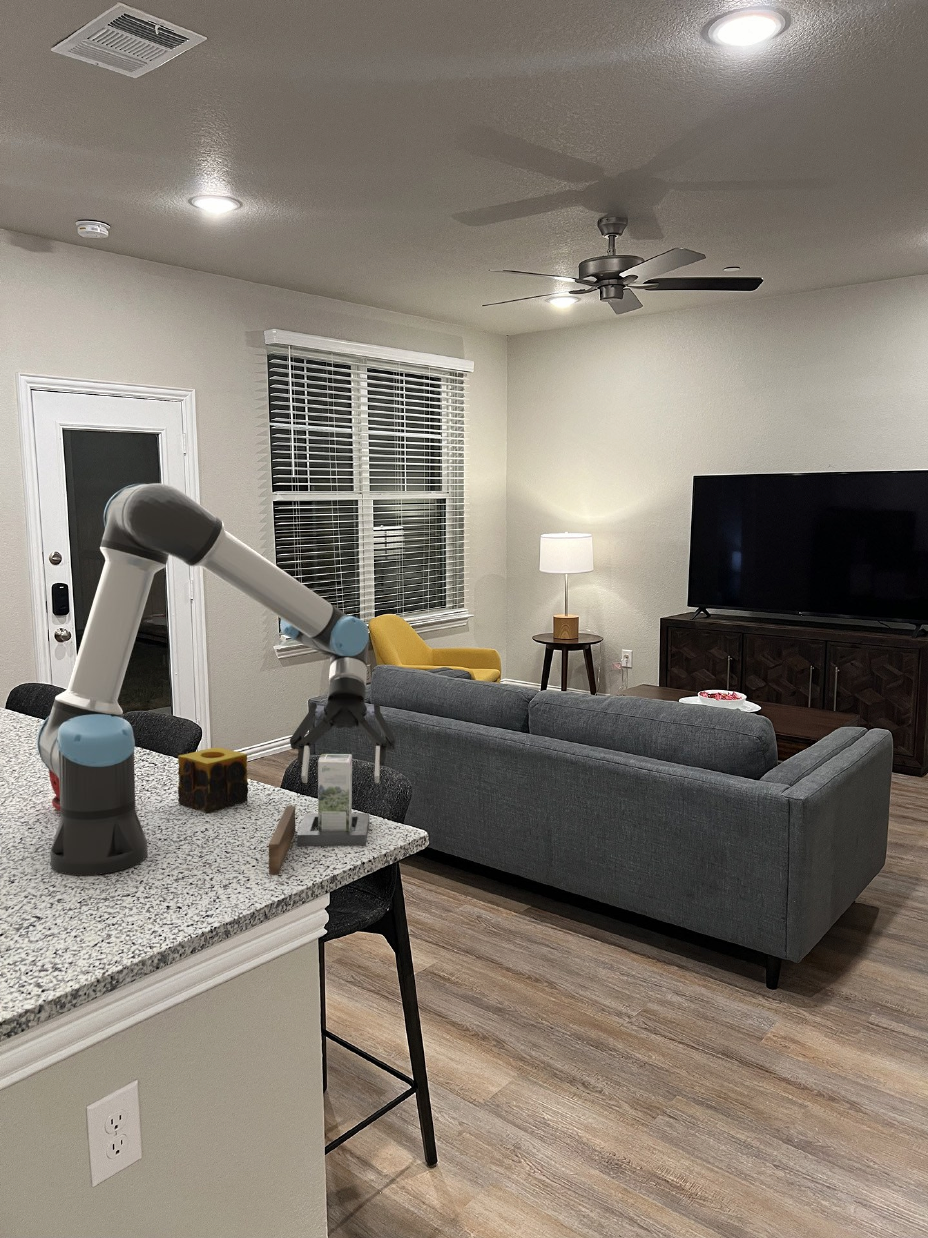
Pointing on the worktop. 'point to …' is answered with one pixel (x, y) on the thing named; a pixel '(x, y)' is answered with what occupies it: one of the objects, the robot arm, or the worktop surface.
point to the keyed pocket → (333, 832)
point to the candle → (212, 779)
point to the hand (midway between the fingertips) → (340, 779)
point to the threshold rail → (281, 840)
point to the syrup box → (335, 792)
